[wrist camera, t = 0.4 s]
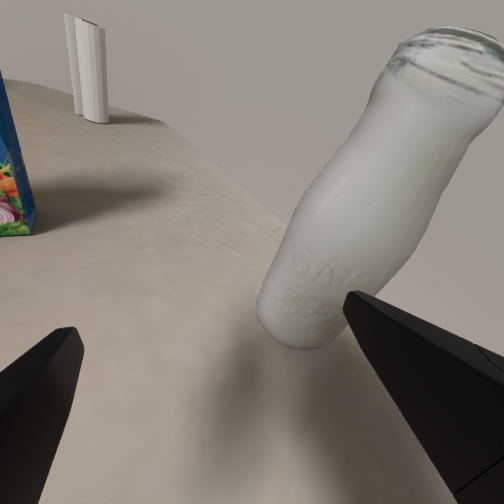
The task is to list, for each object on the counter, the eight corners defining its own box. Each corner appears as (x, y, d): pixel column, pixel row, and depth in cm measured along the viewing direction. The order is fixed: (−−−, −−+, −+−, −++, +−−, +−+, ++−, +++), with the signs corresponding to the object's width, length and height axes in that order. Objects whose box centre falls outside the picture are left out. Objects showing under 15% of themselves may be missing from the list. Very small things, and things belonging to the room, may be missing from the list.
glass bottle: (318, 310, 33) (494, 78, 17) (321, 381, 25) (672, 52, 9) (254, 285, 33) (372, 29, 17) (235, 347, 25) (432, -45, 9)
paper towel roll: (113, 124, 68) (110, 30, 56) (93, 124, 63) (86, 20, 51) (96, 115, 70) (89, 21, 58) (75, 114, 65) (63, 11, 53)
